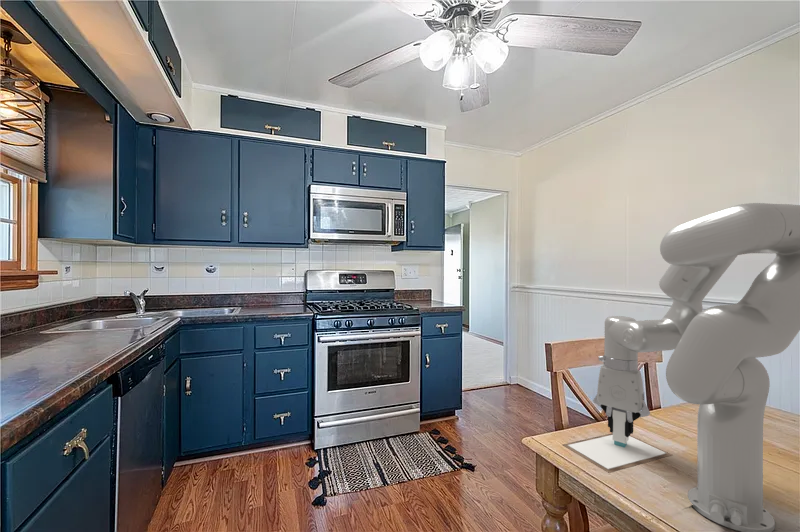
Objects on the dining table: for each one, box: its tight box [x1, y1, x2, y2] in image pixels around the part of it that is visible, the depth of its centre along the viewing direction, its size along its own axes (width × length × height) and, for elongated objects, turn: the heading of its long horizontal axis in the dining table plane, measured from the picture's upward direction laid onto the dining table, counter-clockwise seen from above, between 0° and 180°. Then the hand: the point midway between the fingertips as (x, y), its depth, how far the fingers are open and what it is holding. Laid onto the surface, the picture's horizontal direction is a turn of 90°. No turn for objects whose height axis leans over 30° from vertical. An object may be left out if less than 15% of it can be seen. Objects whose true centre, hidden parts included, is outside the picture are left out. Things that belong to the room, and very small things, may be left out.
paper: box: [568, 435, 666, 470], centre depth 94 cm, size 20×12×1 cm, turn 111°
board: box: [562, 432, 673, 474], centre depth 94 cm, size 22×14×1 cm, turn 111°
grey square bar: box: [613, 408, 629, 448], centre depth 96 cm, size 3×3×11 cm
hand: (620, 432), depth 96 cm, fingers closed on grey square bar, 2 cm apart
